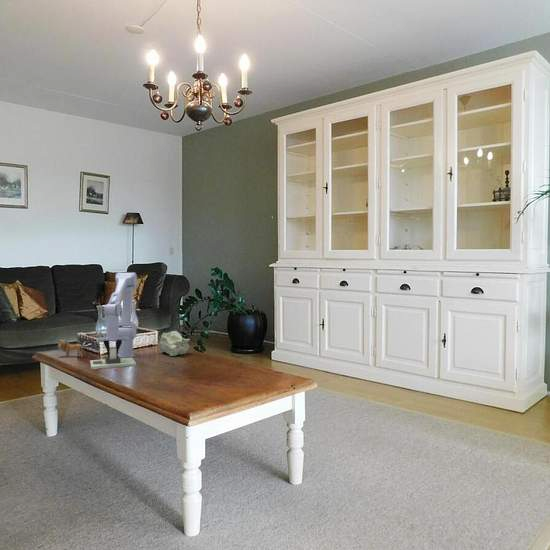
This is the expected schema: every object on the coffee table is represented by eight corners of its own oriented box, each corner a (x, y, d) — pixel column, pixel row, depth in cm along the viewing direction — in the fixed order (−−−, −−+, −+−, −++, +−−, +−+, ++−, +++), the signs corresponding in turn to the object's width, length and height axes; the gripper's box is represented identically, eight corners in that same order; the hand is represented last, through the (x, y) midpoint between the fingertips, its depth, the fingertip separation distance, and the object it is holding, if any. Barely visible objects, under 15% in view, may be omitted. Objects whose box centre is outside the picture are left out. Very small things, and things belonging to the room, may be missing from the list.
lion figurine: (56, 358, 251) (56, 340, 251) (60, 356, 256) (59, 339, 256) (85, 357, 252) (85, 340, 252) (88, 355, 257) (88, 338, 257)
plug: (109, 359, 239) (109, 346, 239) (115, 358, 240) (115, 346, 240) (109, 361, 234) (109, 348, 234) (116, 360, 235) (116, 348, 235)
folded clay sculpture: (183, 366, 262) (195, 342, 260) (163, 364, 253) (176, 338, 251) (168, 349, 274) (180, 325, 272) (149, 345, 265) (161, 321, 263)
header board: (90, 362, 240) (90, 356, 240) (132, 359, 248) (132, 353, 247) (91, 369, 226) (91, 362, 226) (135, 365, 234) (135, 359, 234)
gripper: (97, 330, 230) (97, 358, 230) (128, 328, 235) (129, 356, 236) (96, 328, 236) (96, 356, 237) (127, 326, 242) (127, 353, 242)
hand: (112, 356), depth 237 cm, fingers closed on plug, 3 cm apart
